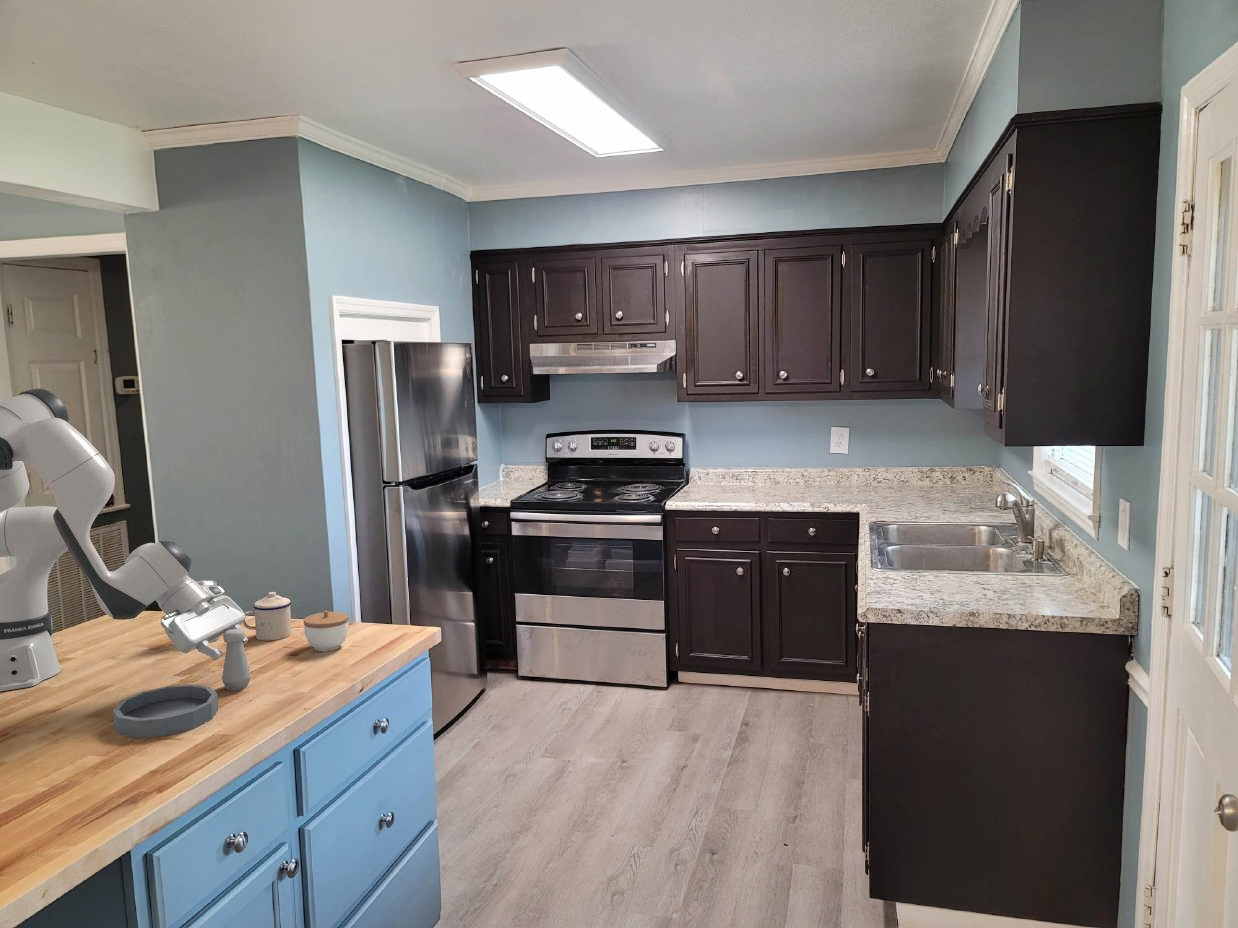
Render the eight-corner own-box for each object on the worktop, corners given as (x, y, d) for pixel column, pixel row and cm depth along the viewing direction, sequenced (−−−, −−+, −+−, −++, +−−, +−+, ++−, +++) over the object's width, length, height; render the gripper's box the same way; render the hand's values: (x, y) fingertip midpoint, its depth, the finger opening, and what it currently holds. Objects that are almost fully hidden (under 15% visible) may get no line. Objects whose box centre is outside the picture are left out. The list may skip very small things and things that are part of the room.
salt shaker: (228, 682, 191) (225, 626, 190) (254, 682, 192) (251, 625, 190) (218, 692, 185) (215, 634, 184) (245, 691, 186) (242, 633, 184)
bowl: (127, 745, 159) (126, 727, 159) (106, 716, 173) (105, 700, 172) (228, 719, 171) (227, 702, 171) (201, 694, 184) (200, 678, 184)
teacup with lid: (291, 628, 231) (289, 586, 229) (293, 638, 222) (291, 594, 221) (243, 634, 226) (240, 591, 225) (242, 644, 218) (240, 599, 216)
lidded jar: (319, 639, 222) (318, 604, 220) (357, 642, 219) (356, 606, 218) (296, 652, 211) (294, 616, 210) (335, 655, 209) (334, 618, 208)
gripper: (165, 608, 177) (211, 656, 176) (225, 584, 197) (266, 627, 197) (147, 628, 178) (193, 676, 178) (208, 602, 198) (249, 645, 198)
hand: (232, 650), depth 187 cm, fingers open, 8 cm apart
